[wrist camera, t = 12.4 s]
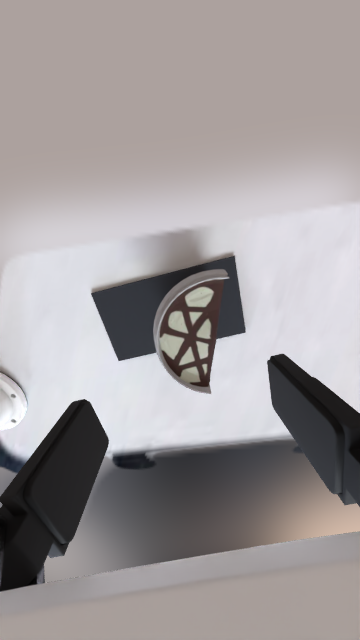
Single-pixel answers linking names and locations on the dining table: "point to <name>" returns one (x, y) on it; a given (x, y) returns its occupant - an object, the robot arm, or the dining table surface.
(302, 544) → the robot arm
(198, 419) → the dining table surface
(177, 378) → the food container
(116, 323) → the mat
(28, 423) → the dining table surface
